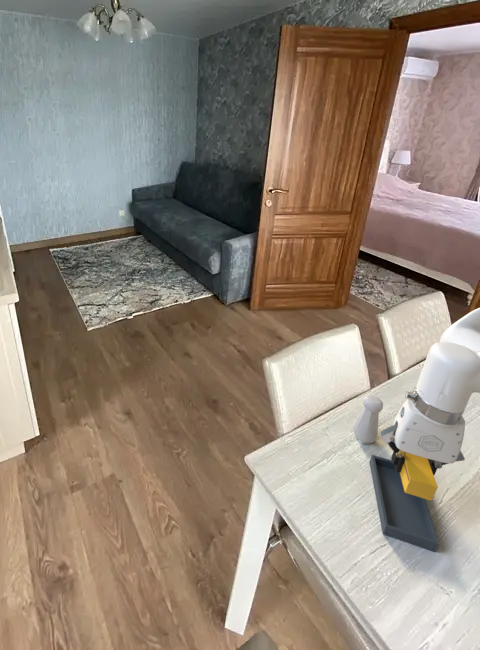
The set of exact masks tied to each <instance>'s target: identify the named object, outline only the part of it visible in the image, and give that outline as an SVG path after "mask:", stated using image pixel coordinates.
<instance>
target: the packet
mask: <svg viewBox="0 0 480 650" xmlns="http://www.w3.org/2000/svg"><path fill="white" fill-rule="evenodd" d="M393 438H394V439H395V437H393ZM404 458H405V462H404V464H403V467H402V470H401V472H400V476H401V479H402V483H403V487H404V491H405V493H408V494H411V495H414V496H417V497H421V498H424V499H426V501H427V500H428V501H430V502H432V501H433V498H434V496H435V494H436V492H437V490H438V488H439V487H438V485H437V481H436V478H435V475H433V472H432V470H431V467H430V464H429V461H428V458H424V457H420V456H417V455H413V454H410V453H406V454H405V455H404Z"/></svg>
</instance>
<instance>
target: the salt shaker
mask: <svg viewBox="0 0 480 650" xmlns="http://www.w3.org/2000/svg"><path fill="white" fill-rule="evenodd" d="M362 399H363V400H362V404H363V406H362V408H361V410H360V411H359V414H358V415H357V417H356V419H355V420H354V422H353V424H352V431H353V433H354V436H355V439H356V440H357V441H359V442H360V443H361V444H363V445H371V444H373V443H374V442H376V441H377V439H378V438H379V417H380V416H379V413H381V412H382V411H383V408H384V403H383V401H382V399H381V398H380V397H378V396H376V395H374V394H367V395H365V396H364V397H363V398H362Z"/></svg>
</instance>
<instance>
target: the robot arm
mask: <svg viewBox="0 0 480 650" xmlns="http://www.w3.org/2000/svg"><path fill="white" fill-rule="evenodd" d="M475 393H477V394H480V307H478V308H477V307H476V309H473V310H471V311H470V312H468V313H467V314H465V315H464V316H462V317H461V318H459V319H458V320H457V321H455V322H453V323H452V324H451V325H450V326H448V327H447V328H446V329H445V330H444V331H443V333H442V334H441V335H440V338H439V341H438V342H435V343H433V344H432V345H431V346H430V348H429V349H428V352H427V355H426V358H425V360H424V364H423V366H422V369H421V372H420V374H419V377H418V380H417V383H416V386H414V388H413V390H412V391H405V392H404V398H405V399H406V400H405V401H404V403H403V404H402V405H401V407H400V408H399V410H398V412H397V414H396V416H395V418H394V421H393V424H392V425H391V426H389V427H386V428H384V429H383V430H380V431H379V437H380V439H381V440H382V441H383V442H385V444H387V445H388V446H389V448H390V449H391V450H392V451H393V452H392V454H391V459H390V460H391V461H392V464H394V465H395V469H396V472H399V473H400V472H401V470H402V467H403V464H404V462H405V458H404V455H405V454H406V453H410V454H413V455H417V456H420V457H424V458H428V461H429V464H430V467H431V470H432V472H433V475H434V476H435V475H436V472H437V471H438V470H439V469H443V466H445V465H449V464H454V463H455V462H461V461H462V462H463V461H465V460H466V459H465V458H466V457H465V456H464V454H463V451H461V450H462V445H463V441H464V437H465V430H466V420H465V418H464V416H463V415H464V412H465V410H466V408H467V405H468V403H469V401H470V398H471V396H472V395H473V394H475ZM394 438H395V439H394Z"/></svg>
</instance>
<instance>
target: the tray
mask: <svg viewBox="0 0 480 650" xmlns="http://www.w3.org/2000/svg"><path fill="white" fill-rule="evenodd" d="M369 467H370V473H371V478H372V479H371V480H372V483H373V489H374V495H375V500H376V507H377V511H378V516H379V521H380V522H379V523H380V527H381V533H382V535H384V536H386V537H390V538H393V539H396V540H397V541H398V540H399V541H401V542H405V543H408V544H410V545H413V546H416V547H419V548H422V549H425V550H428V551H431V552H433V553H437V551H438V549H439V547H440V545H441V544H440V541H439V538H438V534H437V532H436V529H435V528H436V527H435V525H434V522H433V518H432V516H431V513H430V510H429V506H428V503H427V499H424V498H421V497H417V496H414V495H411V494H408V493H405V491H404V487H403V483H402V479H401V476H400V473H399V472H396V469H395V465H394V464H392V461H391V459H388V458H384V457H382V456H381V457H380V456H378V455H374V454H371V456H370V459H369Z"/></svg>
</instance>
